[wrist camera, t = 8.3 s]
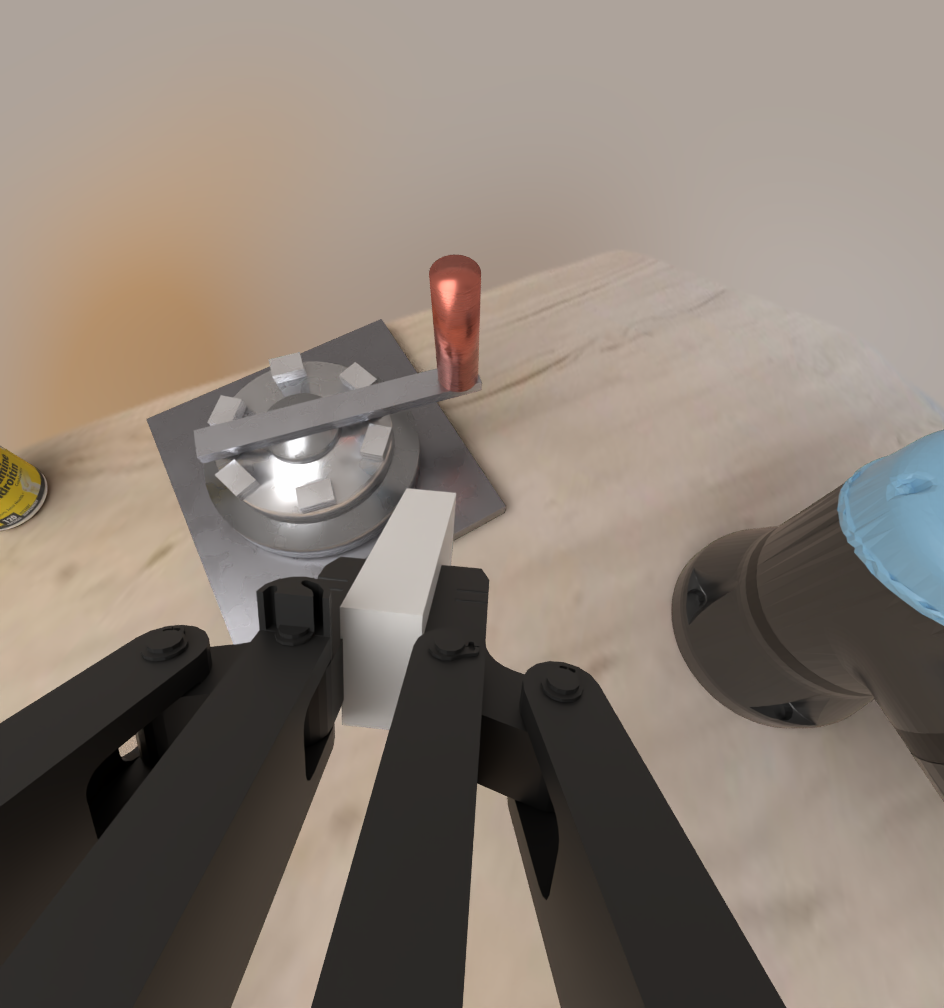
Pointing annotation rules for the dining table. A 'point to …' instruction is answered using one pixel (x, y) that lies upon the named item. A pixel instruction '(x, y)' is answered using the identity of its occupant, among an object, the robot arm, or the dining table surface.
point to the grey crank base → (310, 547)
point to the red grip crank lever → (337, 415)
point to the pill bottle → (19, 490)
